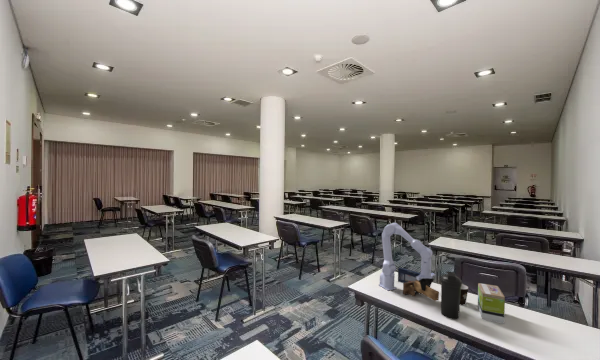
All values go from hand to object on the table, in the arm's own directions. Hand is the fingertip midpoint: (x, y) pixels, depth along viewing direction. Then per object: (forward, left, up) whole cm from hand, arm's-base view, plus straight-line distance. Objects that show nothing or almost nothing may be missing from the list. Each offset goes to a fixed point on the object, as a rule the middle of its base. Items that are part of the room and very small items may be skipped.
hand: (425, 289), depth 162 cm
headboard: (-7, 0, -6) cm, 9 cm away
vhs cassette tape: (-18, +8, -6) cm, 21 cm away
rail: (0, 0, -3) cm, 3 cm away
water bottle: (+19, -4, -6) cm, 20 cm away
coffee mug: (+11, +14, -6) cm, 19 cm away
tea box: (+28, +17, -6) cm, 33 cm away
